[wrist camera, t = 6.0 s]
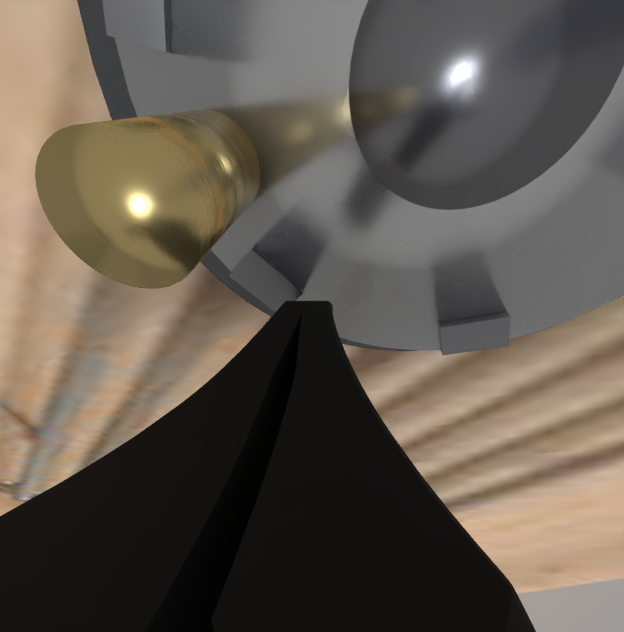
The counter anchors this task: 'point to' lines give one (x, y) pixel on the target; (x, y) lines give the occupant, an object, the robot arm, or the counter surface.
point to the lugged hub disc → (362, 160)
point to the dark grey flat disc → (122, 108)
